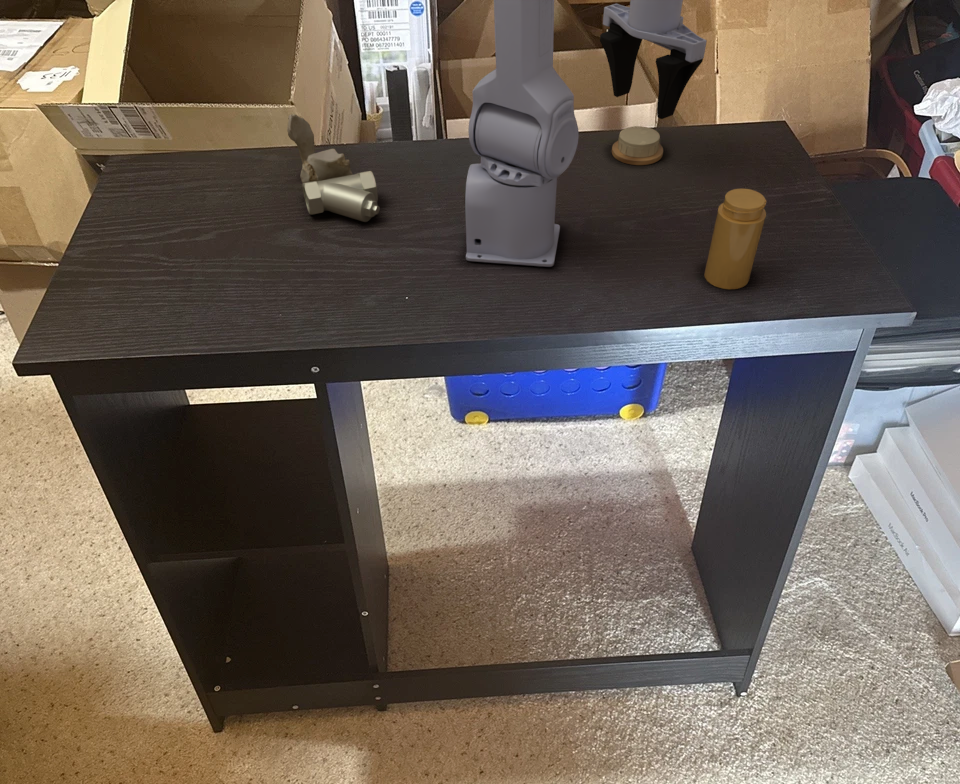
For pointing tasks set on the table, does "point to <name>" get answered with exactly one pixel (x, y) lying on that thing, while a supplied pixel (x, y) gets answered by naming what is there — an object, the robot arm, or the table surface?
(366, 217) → the pipe fitting
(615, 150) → the coaster
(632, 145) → the jar lid
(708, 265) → the jar
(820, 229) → the table surface
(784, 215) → the table surface
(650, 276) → the table surface
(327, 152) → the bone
